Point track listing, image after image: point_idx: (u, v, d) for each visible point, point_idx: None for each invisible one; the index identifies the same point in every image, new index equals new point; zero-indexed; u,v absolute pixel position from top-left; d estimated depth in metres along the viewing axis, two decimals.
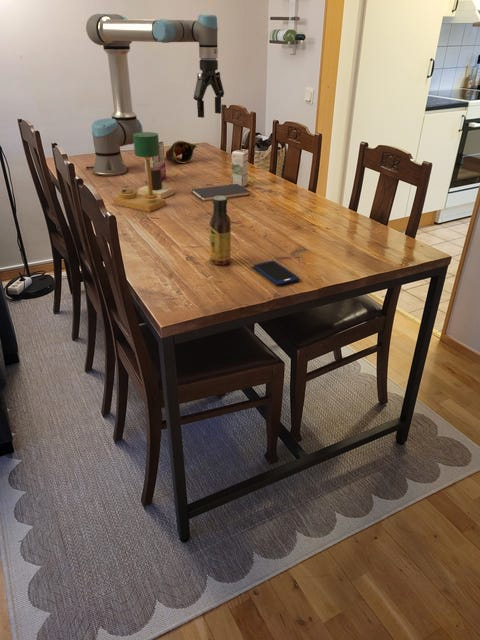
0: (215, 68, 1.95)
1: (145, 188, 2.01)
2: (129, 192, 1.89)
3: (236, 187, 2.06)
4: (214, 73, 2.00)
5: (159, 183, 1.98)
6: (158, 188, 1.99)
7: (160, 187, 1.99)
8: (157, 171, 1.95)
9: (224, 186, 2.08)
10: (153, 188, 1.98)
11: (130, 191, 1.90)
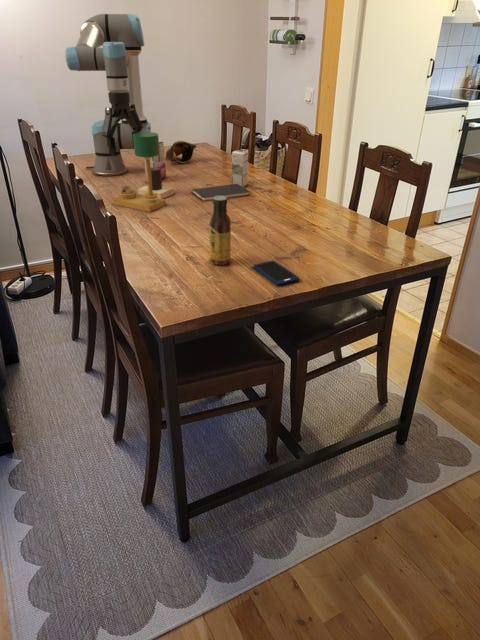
0: (126, 101, 1.72)
1: (145, 188, 2.01)
2: (129, 192, 1.89)
3: (236, 187, 2.06)
4: (127, 106, 1.77)
5: (159, 183, 1.98)
6: (158, 188, 1.99)
7: (160, 187, 1.99)
8: (157, 171, 1.95)
9: (224, 186, 2.08)
10: (153, 188, 1.98)
11: (130, 191, 1.90)
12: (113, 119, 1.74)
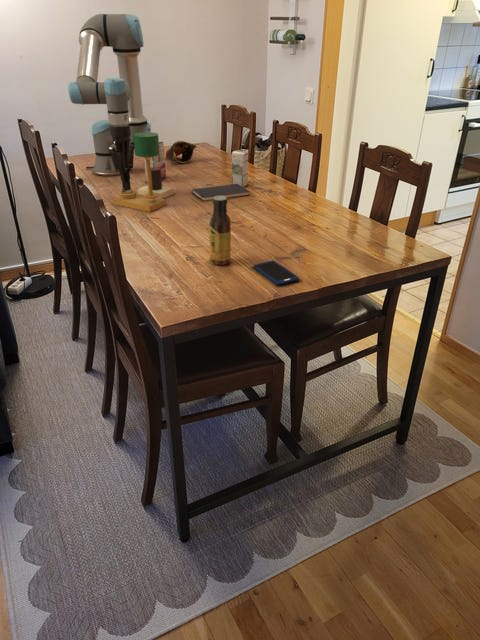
0: (127, 135, 1.77)
1: (145, 188, 2.01)
2: (129, 193, 1.90)
3: (236, 187, 2.06)
4: (128, 138, 1.82)
5: (159, 183, 1.98)
6: (158, 188, 1.99)
7: (160, 187, 1.99)
8: (157, 171, 1.95)
9: (224, 186, 2.08)
10: (153, 188, 1.98)
11: (130, 192, 1.90)
12: (119, 154, 1.82)
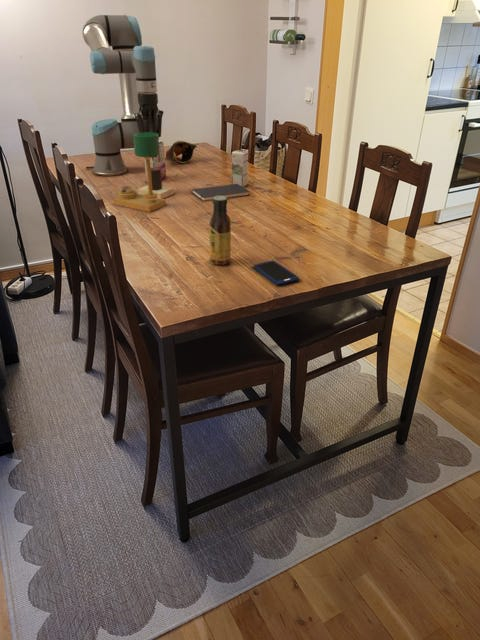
0: (153, 102, 1.81)
1: (145, 188, 2.01)
2: (129, 192, 1.89)
3: (236, 187, 2.06)
4: (156, 106, 1.86)
5: (159, 183, 1.98)
6: (158, 188, 1.99)
7: (160, 187, 1.99)
8: (157, 171, 1.95)
9: (224, 186, 2.08)
10: (153, 188, 1.98)
11: (130, 191, 1.90)
12: (145, 122, 1.86)
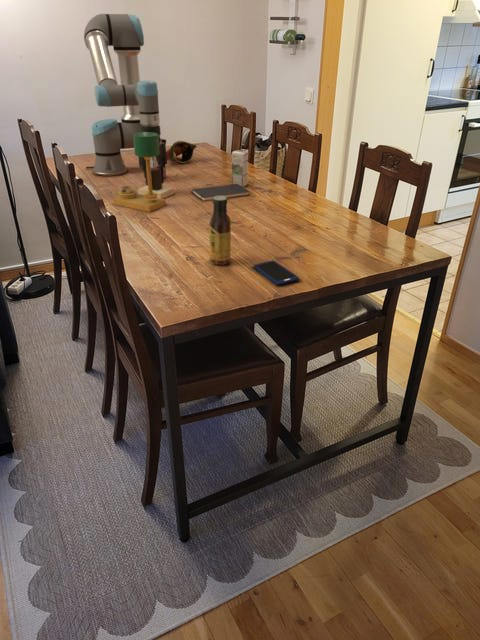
0: None
1: (145, 188, 2.01)
2: (129, 192, 1.89)
3: (236, 187, 2.06)
4: (158, 138, 1.92)
5: (159, 183, 1.98)
6: (158, 188, 1.99)
7: (160, 187, 1.99)
8: (157, 171, 1.95)
9: (224, 186, 2.08)
10: (153, 188, 1.98)
11: (130, 191, 1.90)
12: None
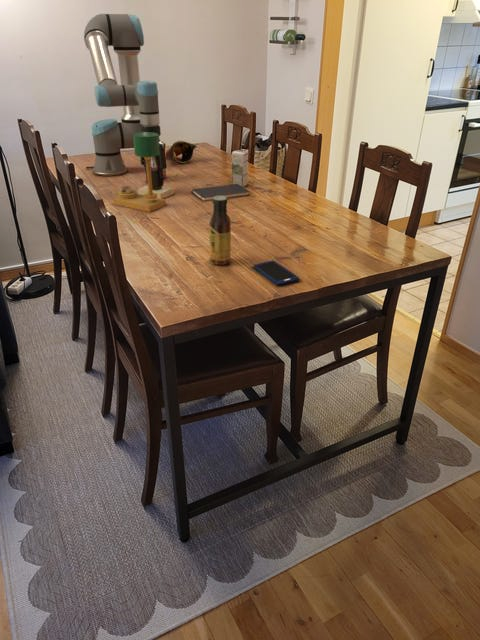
0: None
1: (145, 188, 2.01)
2: (129, 192, 1.89)
3: (236, 187, 2.06)
4: None
5: None
6: None
7: None
8: None
9: (224, 186, 2.08)
10: (161, 186, 2.00)
11: (130, 191, 1.90)
12: None
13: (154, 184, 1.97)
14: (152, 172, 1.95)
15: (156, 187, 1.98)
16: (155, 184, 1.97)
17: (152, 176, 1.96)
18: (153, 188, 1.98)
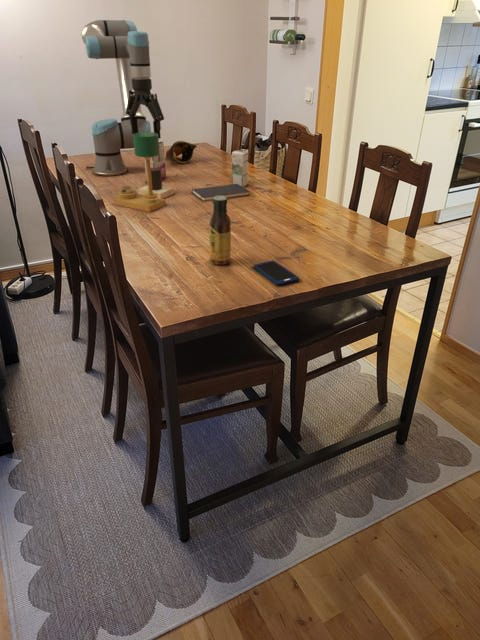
0: None
1: (145, 188, 2.01)
2: (129, 192, 1.89)
3: (236, 187, 2.06)
4: None
5: None
6: None
7: None
8: None
9: (224, 186, 2.08)
10: (161, 186, 2.00)
11: (130, 191, 1.90)
12: (150, 104, 1.87)
13: (154, 184, 1.97)
14: (152, 172, 1.95)
15: (156, 187, 1.98)
16: (155, 184, 1.97)
17: (152, 176, 1.96)
18: (153, 188, 1.98)
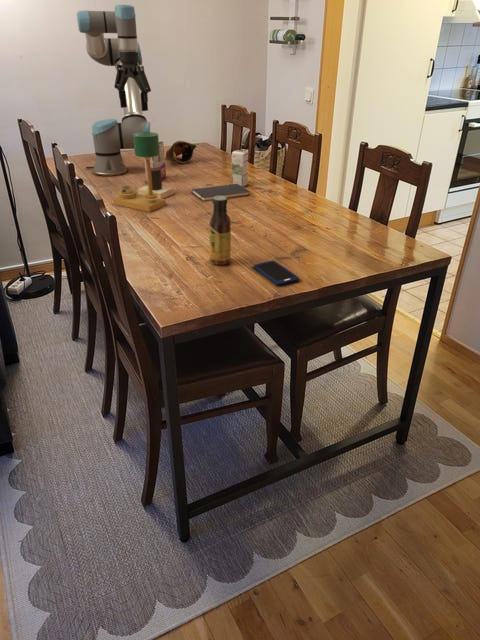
0: None
1: (145, 188, 2.01)
2: (129, 192, 1.89)
3: (236, 187, 2.06)
4: None
5: None
6: None
7: None
8: None
9: (224, 186, 2.08)
10: (161, 186, 2.00)
11: (130, 191, 1.90)
12: (137, 77, 1.93)
13: (154, 184, 1.97)
14: (152, 172, 1.95)
15: (156, 187, 1.98)
16: (155, 184, 1.97)
17: (152, 176, 1.96)
18: (153, 188, 1.98)
